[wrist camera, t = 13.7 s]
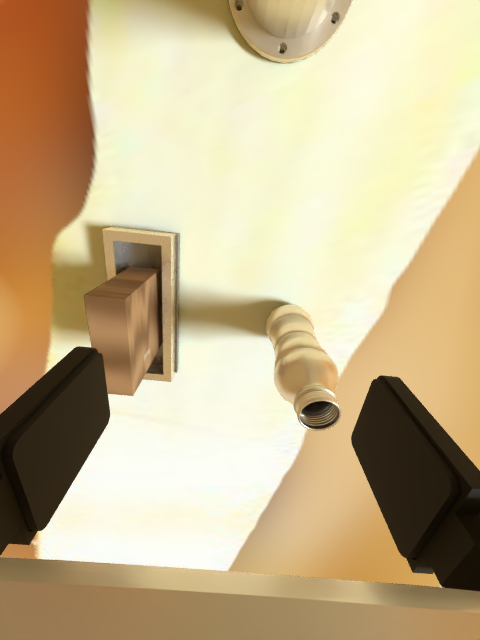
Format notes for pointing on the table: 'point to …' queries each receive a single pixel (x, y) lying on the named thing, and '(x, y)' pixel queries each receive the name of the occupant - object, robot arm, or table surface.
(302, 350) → the plastic bottle
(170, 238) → the tan rectangular tray
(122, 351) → the door panel
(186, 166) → the table surface
